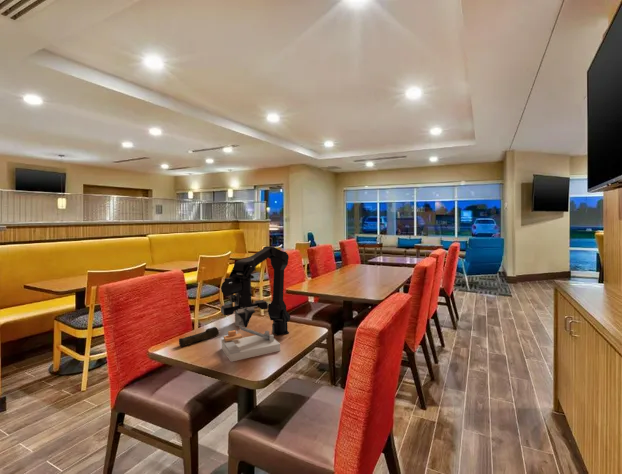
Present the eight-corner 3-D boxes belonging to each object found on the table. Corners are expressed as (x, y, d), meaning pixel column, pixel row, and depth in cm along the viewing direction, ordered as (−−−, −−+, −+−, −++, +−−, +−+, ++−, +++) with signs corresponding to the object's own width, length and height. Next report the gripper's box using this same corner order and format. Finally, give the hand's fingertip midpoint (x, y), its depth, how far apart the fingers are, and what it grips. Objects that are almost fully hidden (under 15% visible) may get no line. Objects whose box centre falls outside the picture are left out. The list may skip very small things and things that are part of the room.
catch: (239, 335, 146) (239, 329, 146) (242, 338, 143) (242, 331, 142) (223, 338, 143) (223, 332, 143) (225, 341, 139) (225, 334, 139)
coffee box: (237, 320, 181) (236, 291, 180) (249, 320, 181) (248, 291, 180) (234, 326, 172) (233, 295, 171) (247, 325, 172) (246, 295, 171)
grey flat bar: (268, 337, 147) (269, 336, 147) (271, 340, 143) (272, 338, 143) (238, 327, 140) (239, 325, 140) (241, 329, 137) (242, 328, 137)
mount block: (267, 339, 152) (267, 327, 152) (280, 350, 139) (279, 337, 139) (221, 348, 143) (221, 335, 142) (230, 361, 129) (230, 347, 129)
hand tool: (182, 348, 144) (181, 338, 144) (178, 346, 147) (178, 335, 147) (221, 337, 157) (221, 327, 157) (217, 335, 160) (217, 325, 160)
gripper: (259, 284, 150) (260, 318, 151) (217, 289, 141) (218, 325, 142) (267, 289, 140) (268, 325, 141) (223, 295, 131) (225, 333, 132)
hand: (245, 327), depth 139 cm, fingers closed
